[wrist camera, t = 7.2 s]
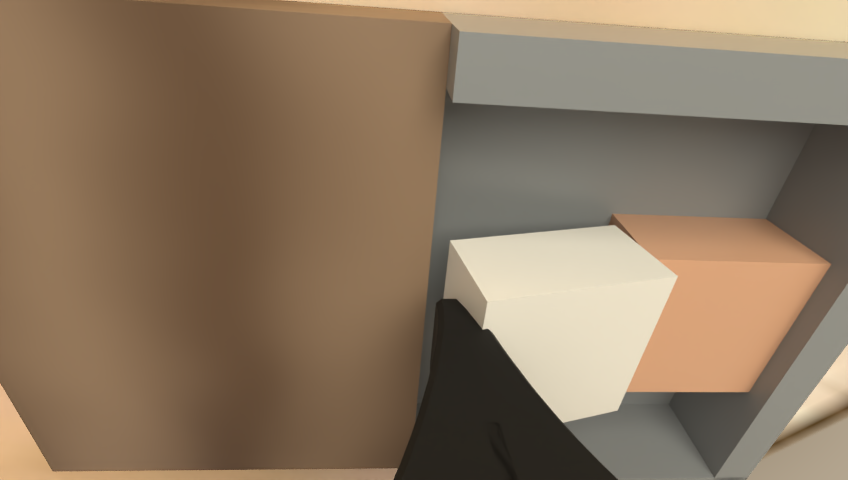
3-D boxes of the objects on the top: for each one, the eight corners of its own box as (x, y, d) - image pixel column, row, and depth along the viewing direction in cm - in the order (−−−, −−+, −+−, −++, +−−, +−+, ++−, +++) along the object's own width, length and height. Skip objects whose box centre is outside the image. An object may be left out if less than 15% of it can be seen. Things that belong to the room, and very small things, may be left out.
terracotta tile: (573, 336, 13) (599, 391, 11) (612, 213, 11) (652, 258, 9) (704, 337, 13) (749, 392, 12) (766, 218, 11) (831, 263, 10)
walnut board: (93, 410, 14) (53, 471, 13) (-110, -29, 8) (-244, -27, 6) (409, 411, 15) (410, 468, 13) (441, 12, 9) (452, 23, 7)
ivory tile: (434, 374, 11) (461, 445, 10) (450, 240, 9) (487, 301, 8) (572, 350, 12) (617, 410, 11) (615, 225, 10) (678, 276, 9)
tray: (409, 411, 15) (412, 502, 13) (441, 12, 9) (459, 31, 6) (678, 411, 16) (733, 496, 13) (878, 44, 10) (1050, 72, 7)
